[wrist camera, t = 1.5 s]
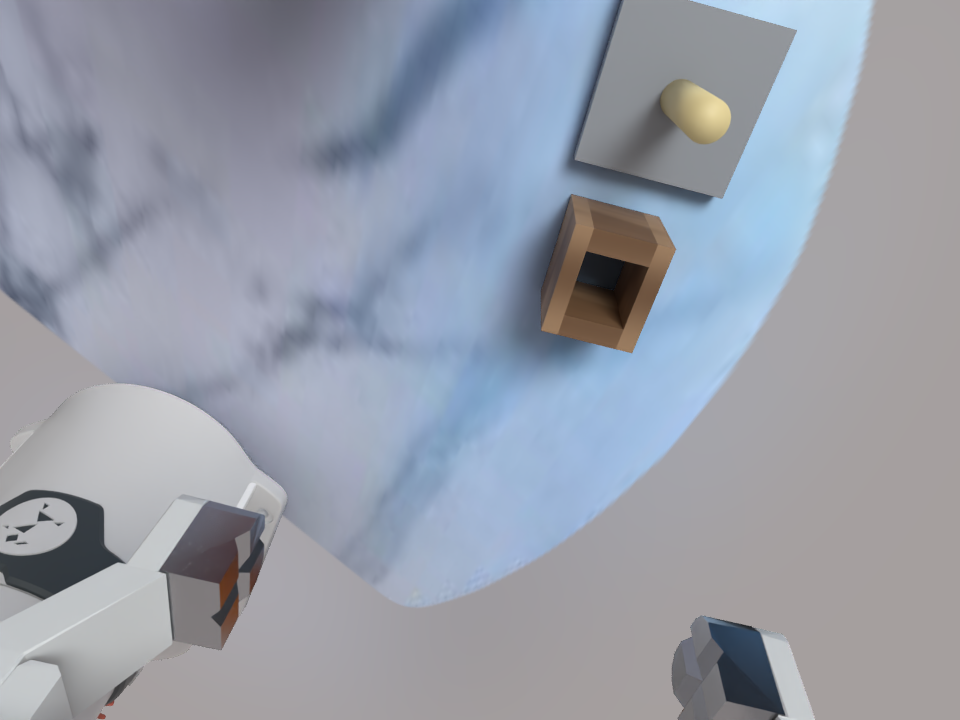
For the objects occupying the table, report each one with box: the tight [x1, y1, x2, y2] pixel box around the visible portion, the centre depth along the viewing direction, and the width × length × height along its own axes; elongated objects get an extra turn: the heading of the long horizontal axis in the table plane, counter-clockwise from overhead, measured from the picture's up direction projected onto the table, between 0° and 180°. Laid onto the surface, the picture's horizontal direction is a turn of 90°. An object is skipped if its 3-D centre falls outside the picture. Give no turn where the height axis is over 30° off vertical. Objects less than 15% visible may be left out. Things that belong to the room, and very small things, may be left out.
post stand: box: [574, 0, 797, 198], centre depth 28 cm, size 8×8×7 cm
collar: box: [541, 194, 676, 353], centre depth 34 cm, size 6×5×5 cm
